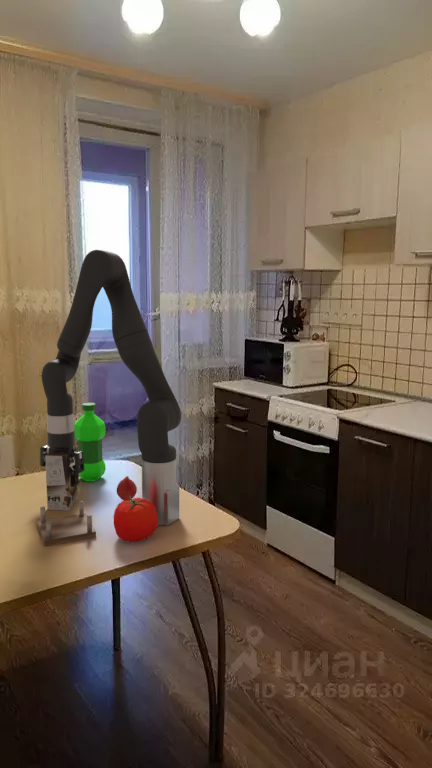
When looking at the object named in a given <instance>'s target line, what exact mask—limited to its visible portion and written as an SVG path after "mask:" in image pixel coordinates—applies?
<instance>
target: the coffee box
mask: <svg viewBox="0 0 432 768" xmlns="http://www.w3.org/2000/svg"><path fill="white" fill-rule="evenodd" d="M73 448H74V451H75V452H78V450H77V447H76V446H74V447H73ZM45 456H46V469H45V477H46V478H45V479H46V484H45V485H46V504H47V506H46V508H47V510H49V511H50V510H51V511H52V510H53V511H69V510H70V509H71V508H72V507H73V506H74V504H75V503H76V502H77V501H78V499H79V486H78V485H79V484H78V485H77V486H75V487H71V473H70V467H69V466H70V464H71V463H73V458H72V457H71V458H70V455H69V454H68V453H64V452H55V451H51V452H49V453H48V454H47V455H45ZM72 468H73V467H72ZM73 469H74V468H73Z"/></svg>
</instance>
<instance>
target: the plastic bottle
mask: <svg viewBox="0 0 432 768" xmlns="http://www.w3.org/2000/svg"><path fill="white" fill-rule="evenodd" d="M81 405H82V406H81V408H82V411H83V414H82V416H80V417H79V418H78V419H77V420H76V421H74V428H75V440H77V452H80V451H83V455H84V468H85V470H84V471H83V472H81V473H79V479H81V480H82V481H85V482H95V481H96V482H97V481H98V480H99V479H100V478H101V477H102V476H103V475H104V474H105V473H106V470H107V469H106V462H105V460H104V459H103V438H104V437H105V436H106V432H107V430H106V424H105V421H104V420H102V419H101V418H100V417H99V416H97V415H96V414H95V411H96V410H97V409H96V403H95V402H84V403H82V404H81Z"/></svg>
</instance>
